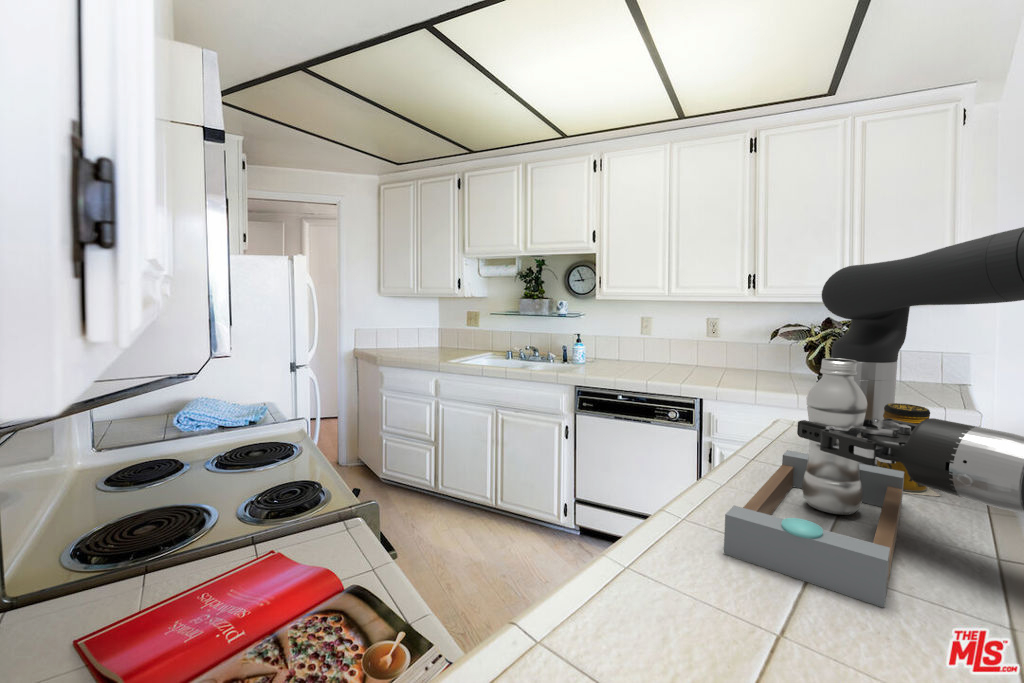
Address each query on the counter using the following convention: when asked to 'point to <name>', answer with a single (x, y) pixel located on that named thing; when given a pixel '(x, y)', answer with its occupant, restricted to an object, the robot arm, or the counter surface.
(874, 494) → the grey beam
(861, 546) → the grey end board
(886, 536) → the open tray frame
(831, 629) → the counter surface
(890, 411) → the condiment
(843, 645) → the counter surface
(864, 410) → the plastic bottle
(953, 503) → the counter surface
